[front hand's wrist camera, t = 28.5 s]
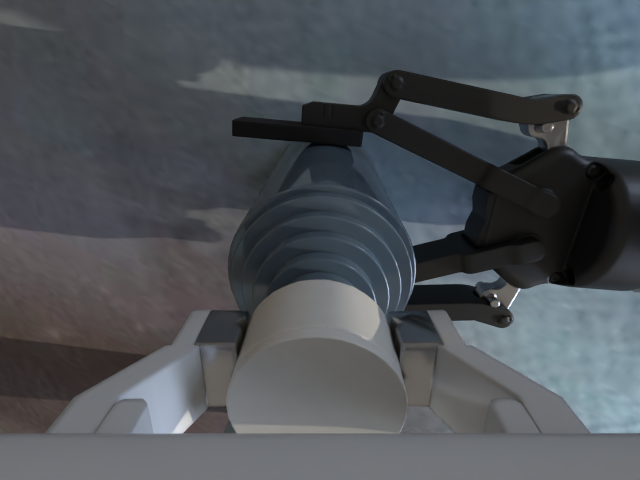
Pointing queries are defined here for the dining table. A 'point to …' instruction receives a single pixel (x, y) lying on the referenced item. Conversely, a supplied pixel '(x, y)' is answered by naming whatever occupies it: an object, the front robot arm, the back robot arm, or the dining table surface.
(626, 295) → the dining table surface
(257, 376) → the cap
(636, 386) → the dining table surface
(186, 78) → the dining table surface
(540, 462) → the front robot arm
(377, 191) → the bottle
